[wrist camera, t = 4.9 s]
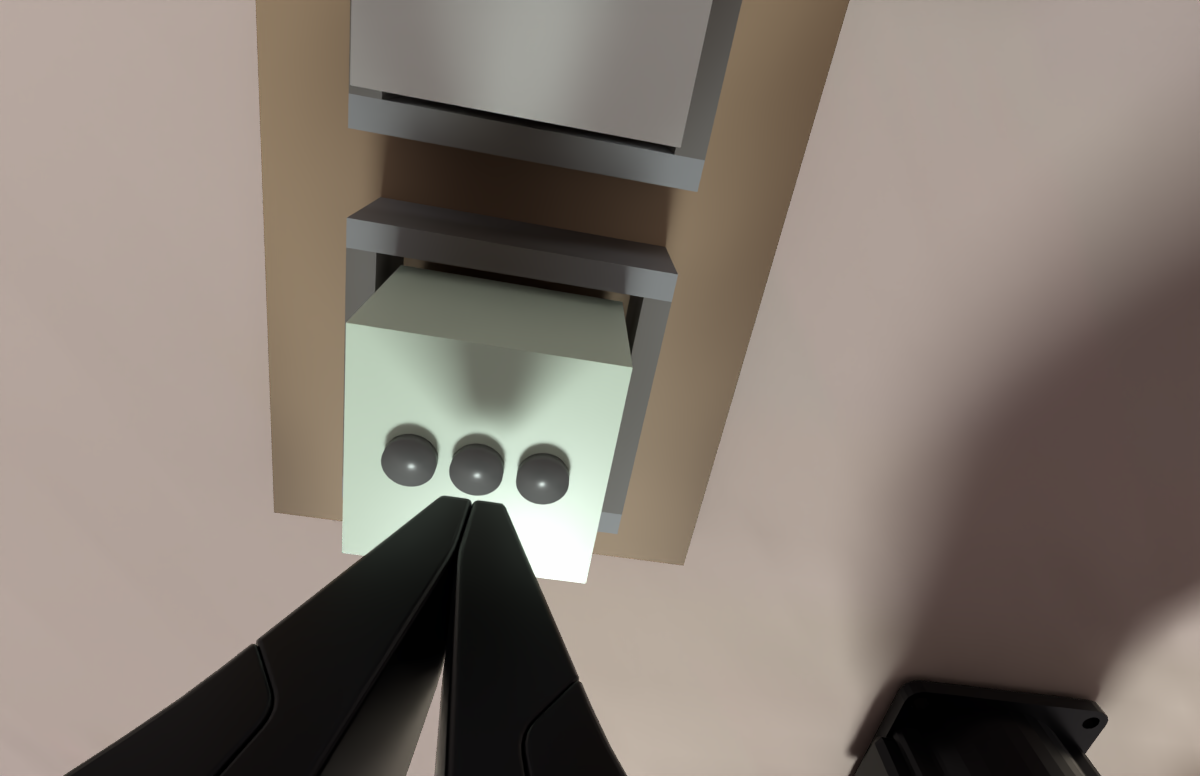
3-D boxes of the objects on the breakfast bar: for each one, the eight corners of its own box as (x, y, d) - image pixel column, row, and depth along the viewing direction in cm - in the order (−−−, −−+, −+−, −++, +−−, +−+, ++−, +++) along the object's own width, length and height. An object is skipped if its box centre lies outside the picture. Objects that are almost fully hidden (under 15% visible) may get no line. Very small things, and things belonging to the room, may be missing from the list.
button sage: (622, 301, 12) (633, 373, 9) (585, 483, 14) (586, 591, 11) (400, 265, 12) (340, 327, 9) (391, 456, 13) (337, 560, 11)
